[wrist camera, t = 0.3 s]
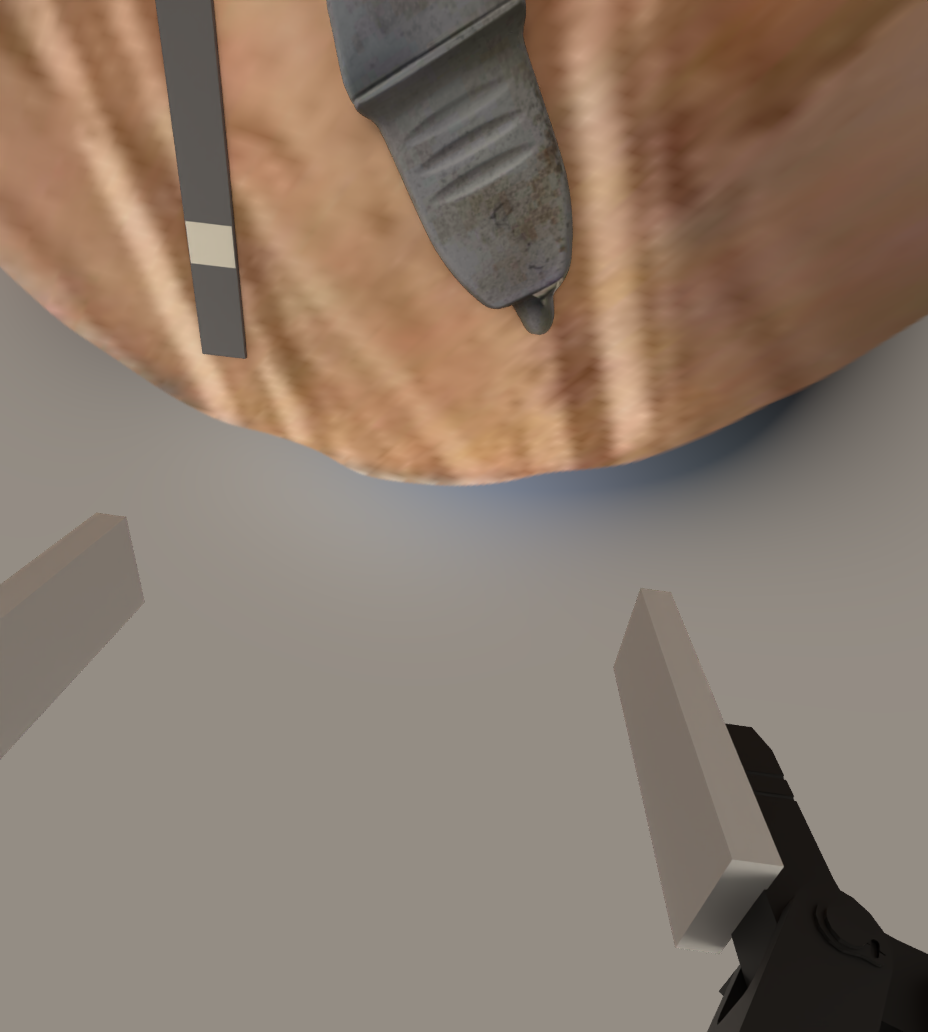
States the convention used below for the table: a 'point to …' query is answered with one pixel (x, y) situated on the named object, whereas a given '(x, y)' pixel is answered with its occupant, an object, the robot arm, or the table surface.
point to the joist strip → (203, 170)
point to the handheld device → (466, 139)
